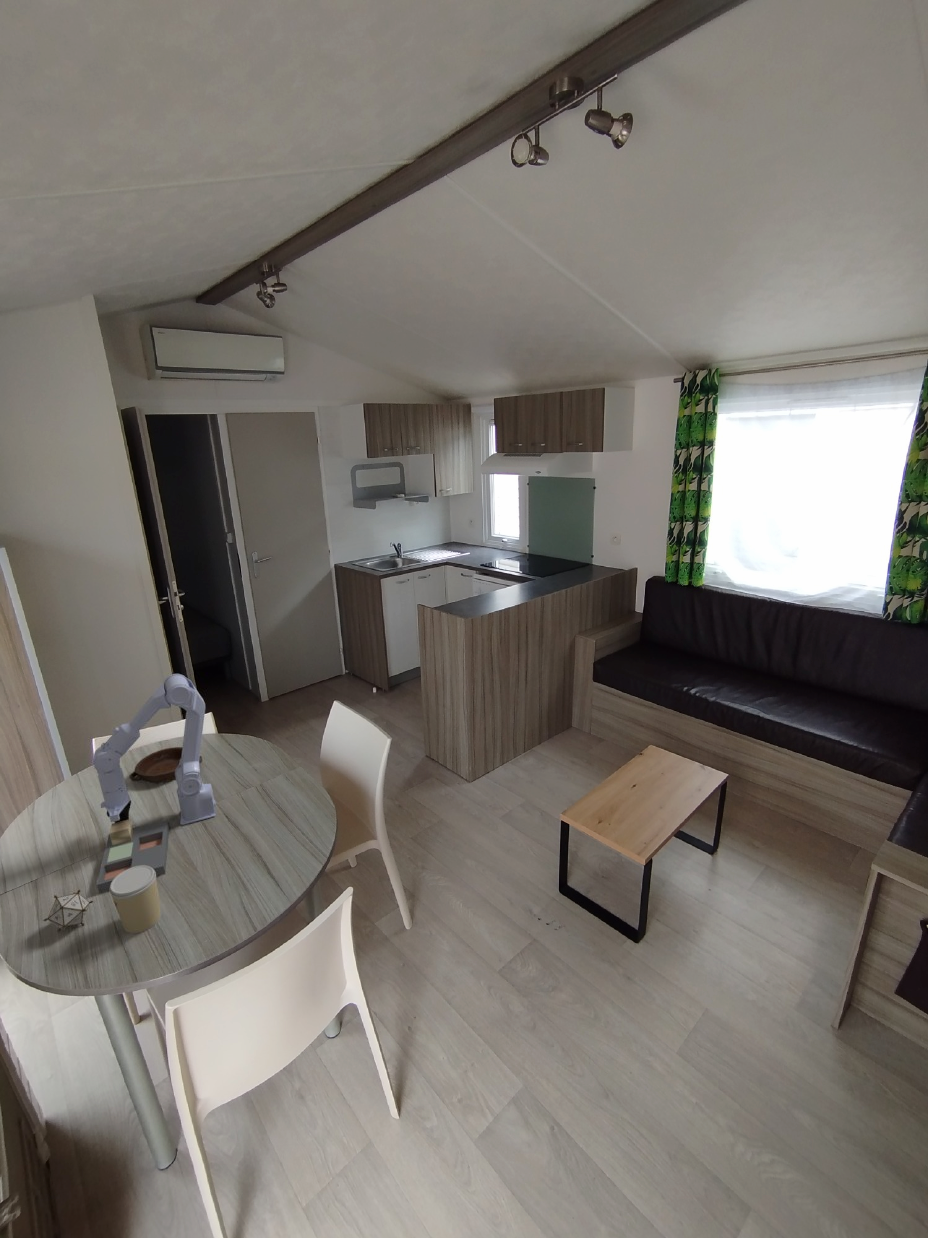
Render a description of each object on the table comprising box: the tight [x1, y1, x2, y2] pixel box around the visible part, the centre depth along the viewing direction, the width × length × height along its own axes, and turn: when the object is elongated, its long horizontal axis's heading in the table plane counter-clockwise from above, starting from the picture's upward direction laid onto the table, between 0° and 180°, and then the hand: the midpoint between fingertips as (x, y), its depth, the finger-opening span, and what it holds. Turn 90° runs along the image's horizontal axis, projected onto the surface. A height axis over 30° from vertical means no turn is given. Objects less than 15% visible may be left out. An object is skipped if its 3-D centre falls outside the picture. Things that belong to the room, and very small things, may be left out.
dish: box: [129, 746, 203, 784], centre depth 192 cm, size 18×22×5 cm
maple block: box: [108, 818, 134, 845], centre depth 156 cm, size 4×4×4 cm
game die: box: [42, 889, 94, 933], centre depth 131 cm, size 9×8×10 cm
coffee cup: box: [108, 865, 162, 934], centre depth 131 cm, size 9×9×12 cm
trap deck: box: [96, 818, 170, 894], centre depth 153 cm, size 15×21×2 cm
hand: (124, 828), depth 160 cm, fingers closed
